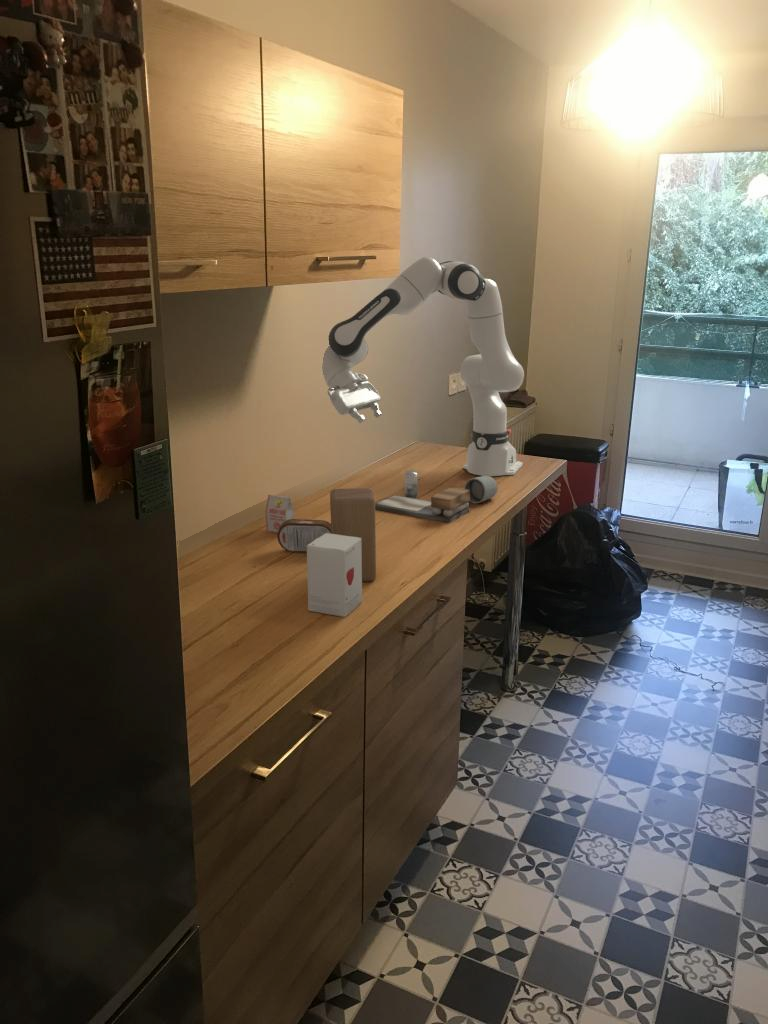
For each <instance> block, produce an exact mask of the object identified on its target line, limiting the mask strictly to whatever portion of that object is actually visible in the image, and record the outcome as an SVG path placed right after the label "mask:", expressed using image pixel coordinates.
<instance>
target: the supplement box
mask: <svg viewBox="0 0 768 1024" xmlns="http://www.w3.org/2000/svg"><path fill="white" fill-rule="evenodd" d="M306 567H307V569H306V571H307V574H306V575H307V603H308V606H307V607H308V609H307V610H308V611H309V612H315V613H320V614H325V615H331V616H336V617H342V618H346V617H347V616H349V614H351V613H352V612H353V611H354V610H355V609H356V608H357V607H358V606H360V603H361V604H362V603H363V581H362V550H361V538H358V537H352V536H343V535H337V534H330V533H325V534H324V535H322V536H321V537H319V538H317V539H315V540H314V541H313V542H312V543H310V544H308V545H307V553H306Z"/></svg>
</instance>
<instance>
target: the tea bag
mask: <svg viewBox="0 0 768 1024" xmlns="http://www.w3.org/2000/svg"><path fill="white" fill-rule="evenodd" d="M289 519H295V510H294V506H293V504H292V502H291V498H290V497H289V496H283V495H282V496H281V495H276V494H275V495H274V494H267V501H266V506H265V528H266V532H267V531H268V533H272V532H273V534H278V531H279V528H280V526H281V524H282V523H283V522H285V521H287V520H289Z"/></svg>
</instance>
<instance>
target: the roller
mask: <svg viewBox="0 0 768 1024" xmlns="http://www.w3.org/2000/svg"><path fill="white" fill-rule="evenodd" d="M418 478H419V473H418V470H413V469H412V470H405V471H404V497H410V498H415V499H419V498H418V497H419V494H418V493H419V492H418V490H419V486H418V485H419V484H418V481H419V479H418Z"/></svg>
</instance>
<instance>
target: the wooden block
mask: <svg viewBox="0 0 768 1024" xmlns="http://www.w3.org/2000/svg"><path fill="white" fill-rule="evenodd" d="M329 501H330V502H329V505H330V506H329V507H330V524H331V534H337V535H343V536H352V537H358V538H361V550H362V582H373V581H375V580H376V578H377V555H376V554H377V553H376V552H377V550H376V549H377V548H376V546H377V543H376V542H377V541H376V537H377V536H376V534H377V532H376V509H375V503H376V500H375V496H374V491H373V489H372V488H370V487H364V488H362V487H361V488H334V489H332V490H330V493H329Z"/></svg>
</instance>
